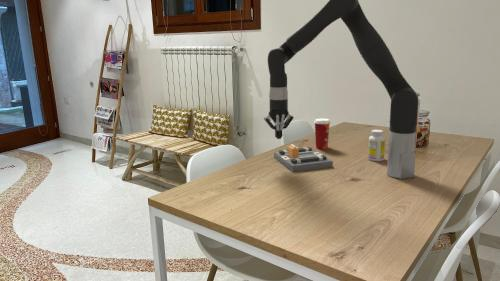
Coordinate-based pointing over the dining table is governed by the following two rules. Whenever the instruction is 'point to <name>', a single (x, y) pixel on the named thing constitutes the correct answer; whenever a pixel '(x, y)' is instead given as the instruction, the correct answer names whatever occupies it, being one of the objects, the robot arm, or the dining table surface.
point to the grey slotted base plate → (305, 159)
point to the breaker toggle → (293, 151)
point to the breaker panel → (304, 165)
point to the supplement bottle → (376, 146)
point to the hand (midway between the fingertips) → (278, 138)
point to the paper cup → (322, 133)
